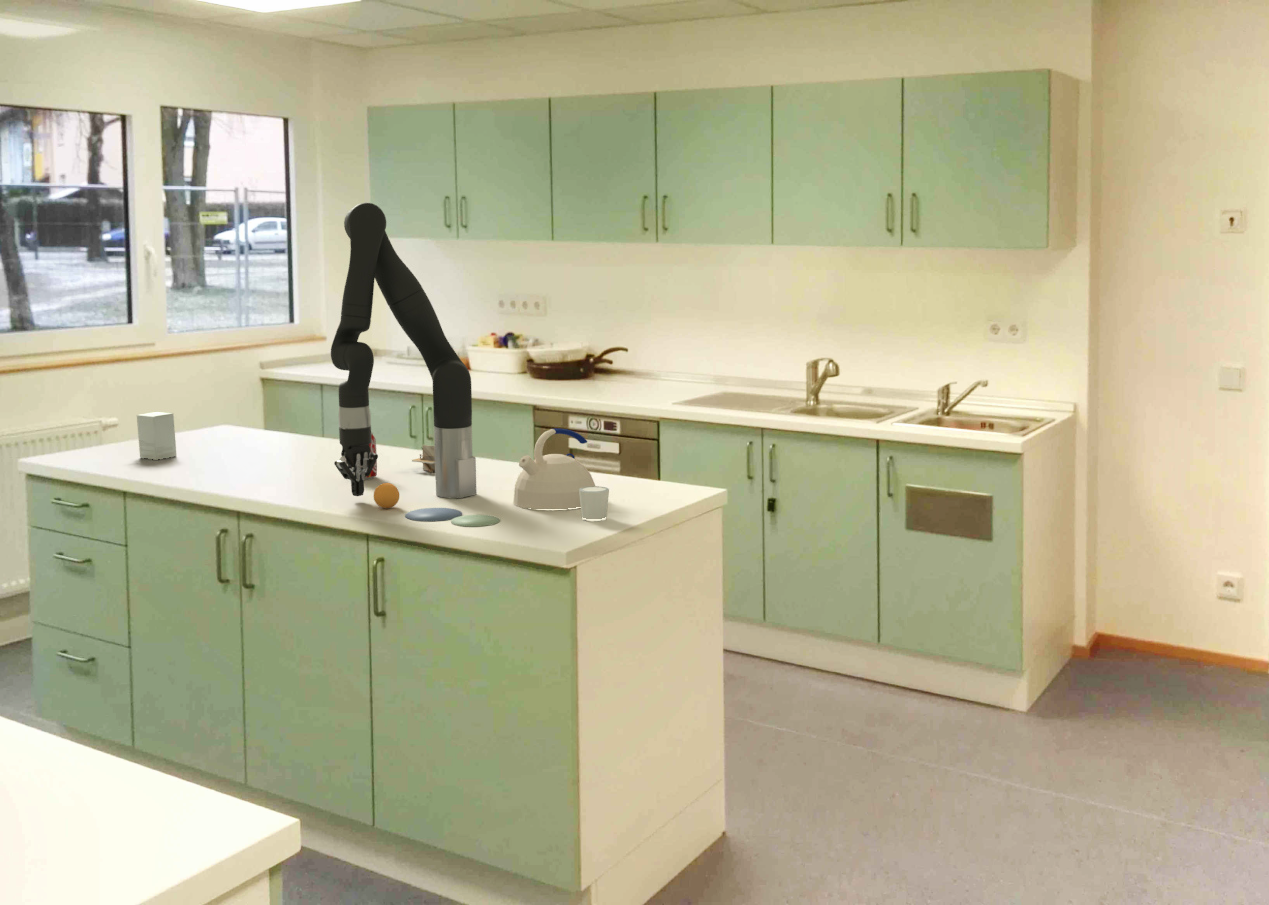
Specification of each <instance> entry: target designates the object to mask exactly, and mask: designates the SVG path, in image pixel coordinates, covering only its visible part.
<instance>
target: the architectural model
mask: <svg viewBox="0 0 1269 905" xmlns="http://www.w3.org/2000/svg"><path fill="white" fill-rule="evenodd" d="M420 448H421V449H422V454H421V453H420V454H419V457H418V458H415V459H411V462H414V463H422V471H424V470H429V471H428V472H430V473H431V472H432V473H434V472H433V471H435V445H427V444H422V447H420Z"/></svg>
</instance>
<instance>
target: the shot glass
mask: <svg viewBox="0 0 1269 905" xmlns="http://www.w3.org/2000/svg"><path fill="white" fill-rule="evenodd" d="M609 494H610V488H608V487H605V486H599V485H597V486H596V485H595V486H591V487H583V488H580V489H579V495H580V505H581V509H580V512H581V514H580V515H581V518H582V517H583V518H586V519H602V518H605V517H607V516H608V508H609V496H610V495H609ZM607 518H608V517H607Z"/></svg>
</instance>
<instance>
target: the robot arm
mask: <svg viewBox="0 0 1269 905" xmlns="http://www.w3.org/2000/svg"><path fill="white" fill-rule="evenodd" d="M343 226H344V230H345V233H346V235H347V237H348V239H349V240H350V241H349V242H350V244H349V245H350V253H349V254H350V255H349V264H348V269H347V270H348V271H347V274H346V280H345V284H344V289H343V293H342V299H341V300H342V303H341V311H340V322H339V324H338V327H337V329H336V331H335V334H334V337H333V341H332V344H331V348H330V358H331V359H330V360H331V362H332V364H333V366H334V367H335V368H336V369H338V370H341V371H348V376H347V380H345V381H342V382H341V383H340V384H339V386H338V433H339V434H338V436H339V444H340V445H341V448H342V449H341V453H340V454H341V457H340V458H339V459H338V460H334V462H333V463H334V466H335V467H336V469H337V470H338V471H339V473H340V474H341V476H342V477H343V478H344V480H349V481H350V484H351V485H350V487H351V494H352V496H353V497H354V496H355V497H362V496H363V495H364V492H365V480H364V479H365V477H366V476H369V475H370V473H371V471H372V469H373V467H374V465H375V462H376V460H377V461H378V458H379V455H378V454H377V453H376V454H373V453H372V452H371V448H370V446H369V444H370V443H371V442H372V438H371V432H372V419H371V418H372V417H371V411H370V396H369V387H370V383H371V380H372V379H371V378H372V373H373V371H374V370H373V369H374V364H375V359H374V358H375V357H374V352H373V350H372V348H371V346H370V345H368V344H367V343H366V342H362V341H359V338H360V335H361V334H362V333H365V332H367V331H369V329H370V328H371V323H372V320H371V319H372V313H373V302H374V289H375V282H376V284H377V285H378V288H379V290H380V292H381V294H382V296H383V298H384V300H385V301H386V304H387V305H388V307H389V309H390V311H391V312H392V314H393V316H394V318H395V320H396V321H397V323H398V324H399V326H400V327H401V329H402V330H403V332H404V334H406V335H407V337H408V338H409V339H410V341H411V342H412V344H414V346H415V347H416V348H417V350H418V351H419V354H421V357H422V359H423V361H424V363H425V366H426V367H427V370H428V372H429V374H430V377H431V380H432V400H433V402H432V403H433V404H432V405H433V410H432V411H433V413H432V414H433V433H434V435H433V438H434V439H433V440H434V442H433V443H434V446H435V472H434V474H435V475H434V476H435V495H436V496H437V497H439V498H446V499H447V498H449V499H463V498H466V497H470V496H474V495H475V496H476V495H477V466H476V465H477V463H476V462H477V460H476V456H474V455H473V454H474V453H473V423H472V422H473V421H472V420H473V405H472V404H473V402H472V401H473V398H472V397H473V396H472V395H473V394H472V376H471V374H470V371H469V368H468V367H467V366H466V365H465V363H464V362H463V361H462V359H461V358H460V356H458V354H457V353H456V351H455V350H454V348H453V347H452V345H451V344H450V342H449V340H448V339H447V337H446V335H445V333H444V330H443V328H442V325H441V323H440V321H439V317H438V315H437V314H436V311H435V309H434V307H433V304H432V302H431V300H430V299H429V297H428V295H427V293H426V292H425V290H424V288H423V286H422V285H421V283H420V282H419V279H418V278H416V276H415V275H414V273H413V272H412V271H411V269H409V268H410V267H408V266H407V265H406V264H405V263H404V262H403V260H402V259H401V258H400V256H399V255H398V254H397V251H396V250H395V248H394V247H393V244H392V243H391V241H390V239H389V236H388V233H387V232H386V228H387V218H386V215H385V213H384V211H383V210H382V208H380V206H378V205H376V204H374V203H371V202H362V203H358V204H356V205H354V206H353V207H352V208H350V209H349V211H347V213H346V214H345V217H344V221H343ZM367 467H368V468H367ZM366 469H367V470H366Z"/></svg>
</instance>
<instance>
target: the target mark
mask: <svg viewBox="0 0 1269 905" xmlns="http://www.w3.org/2000/svg"><path fill="white" fill-rule="evenodd" d="M404 515H405V516H404V517H405V518H406V519H407V520H411V521H416V522H441V521H442V522H444V521H451V520H452V519H453V518H456V517H459V516H463V512H462V511H461V510H459V509H456V508H455V509H454V508H448V507H428V508H427V507H426V508H419V509H414V510H410V511H408V512H406V513H405V514H404Z"/></svg>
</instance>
